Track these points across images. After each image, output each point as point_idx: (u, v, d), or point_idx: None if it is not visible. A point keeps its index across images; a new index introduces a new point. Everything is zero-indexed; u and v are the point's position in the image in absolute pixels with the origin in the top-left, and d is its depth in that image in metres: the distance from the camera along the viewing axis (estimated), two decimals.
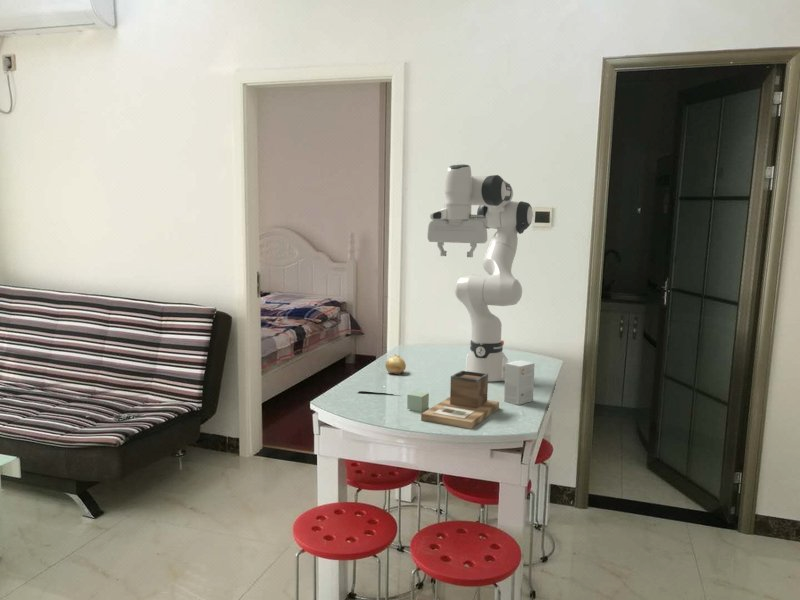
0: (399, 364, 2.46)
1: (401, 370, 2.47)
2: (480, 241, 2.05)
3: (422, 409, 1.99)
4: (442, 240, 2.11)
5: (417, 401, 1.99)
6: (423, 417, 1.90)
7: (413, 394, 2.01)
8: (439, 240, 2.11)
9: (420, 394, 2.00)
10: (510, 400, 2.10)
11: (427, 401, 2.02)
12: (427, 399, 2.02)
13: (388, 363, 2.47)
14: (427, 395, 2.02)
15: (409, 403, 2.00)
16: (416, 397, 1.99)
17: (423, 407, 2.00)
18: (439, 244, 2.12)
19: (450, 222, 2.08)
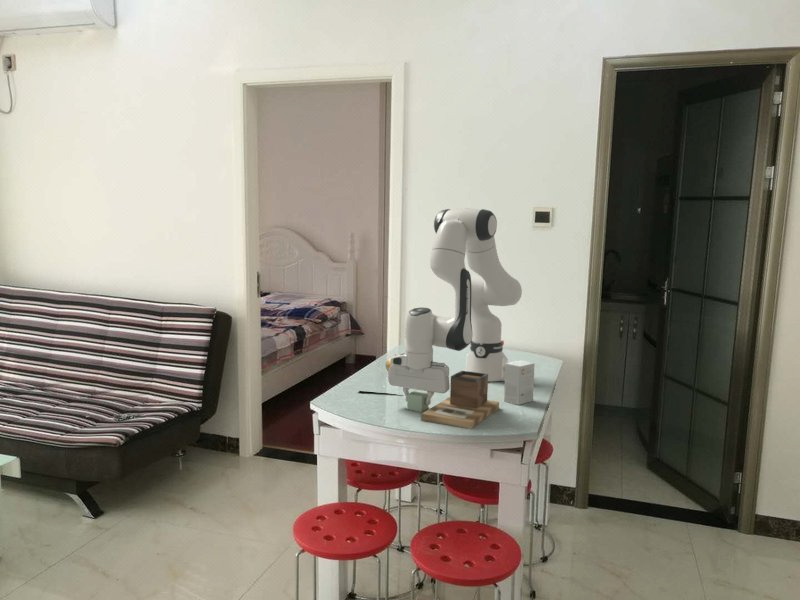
0: None
1: None
2: (441, 391, 1.95)
3: (422, 409, 1.99)
4: (403, 386, 2.02)
5: (417, 401, 1.99)
6: (423, 417, 1.90)
7: (413, 394, 2.00)
8: (400, 385, 2.02)
9: (420, 394, 2.00)
10: (510, 400, 2.10)
11: None
12: None
13: (388, 363, 2.47)
14: (427, 395, 2.02)
15: (409, 403, 2.00)
16: (416, 397, 1.99)
17: (423, 407, 2.00)
18: (404, 389, 2.02)
19: (411, 369, 1.98)
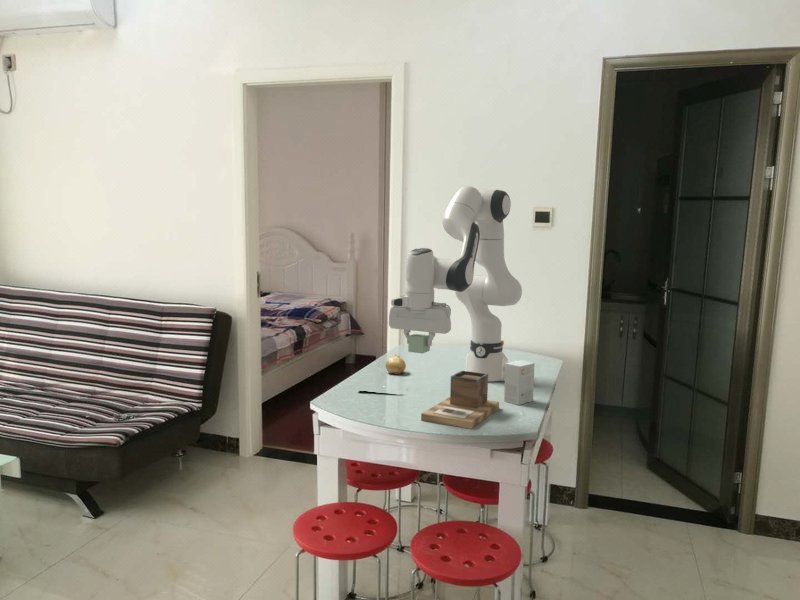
0: (399, 364, 2.46)
1: (401, 370, 2.47)
2: (443, 331, 1.93)
3: (423, 350, 1.97)
4: (404, 328, 1.99)
5: (418, 342, 1.97)
6: (423, 417, 1.90)
7: (414, 335, 1.98)
8: (401, 327, 2.00)
9: (421, 336, 1.98)
10: (510, 400, 2.10)
11: None
12: None
13: (388, 363, 2.47)
14: (428, 337, 1.99)
15: (410, 345, 1.98)
16: (417, 338, 1.97)
17: (424, 349, 1.97)
18: (405, 332, 2.00)
19: (412, 310, 1.96)
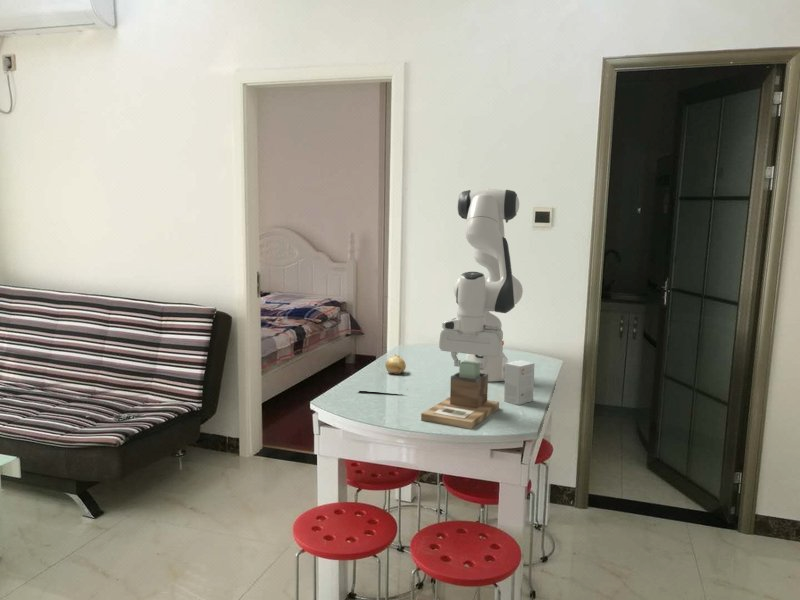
0: (399, 364, 2.46)
1: (401, 370, 2.47)
2: (495, 355, 1.95)
3: (474, 378, 1.98)
4: (455, 350, 2.01)
5: (469, 369, 1.98)
6: (423, 417, 1.90)
7: (465, 363, 2.00)
8: (451, 350, 2.01)
9: (472, 363, 2.00)
10: (510, 400, 2.10)
11: (479, 370, 2.01)
12: (479, 368, 2.01)
13: (388, 363, 2.47)
14: (479, 364, 2.01)
15: (461, 372, 2.00)
16: (469, 365, 1.98)
17: (475, 376, 1.99)
18: (453, 354, 2.02)
19: (463, 333, 1.98)
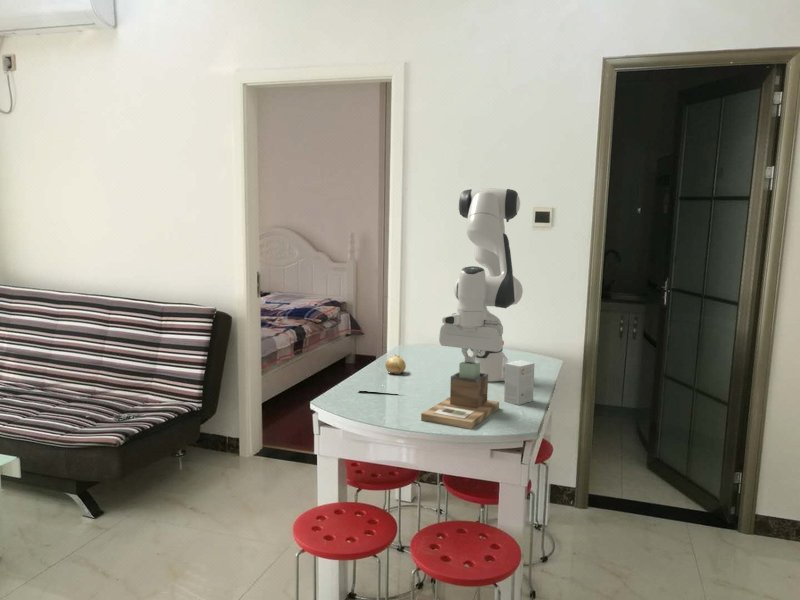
0: (399, 364, 2.46)
1: (401, 370, 2.47)
2: (495, 350, 1.94)
3: (474, 378, 1.98)
4: (455, 345, 2.00)
5: (469, 369, 1.98)
6: (423, 417, 1.90)
7: (465, 363, 2.00)
8: (452, 345, 2.01)
9: (472, 363, 2.00)
10: (510, 400, 2.10)
11: (479, 370, 2.01)
12: (479, 368, 2.01)
13: (388, 363, 2.47)
14: (479, 364, 2.01)
15: (461, 372, 2.00)
16: (469, 365, 1.98)
17: (475, 376, 1.99)
18: (463, 350, 2.00)
19: (463, 328, 1.97)
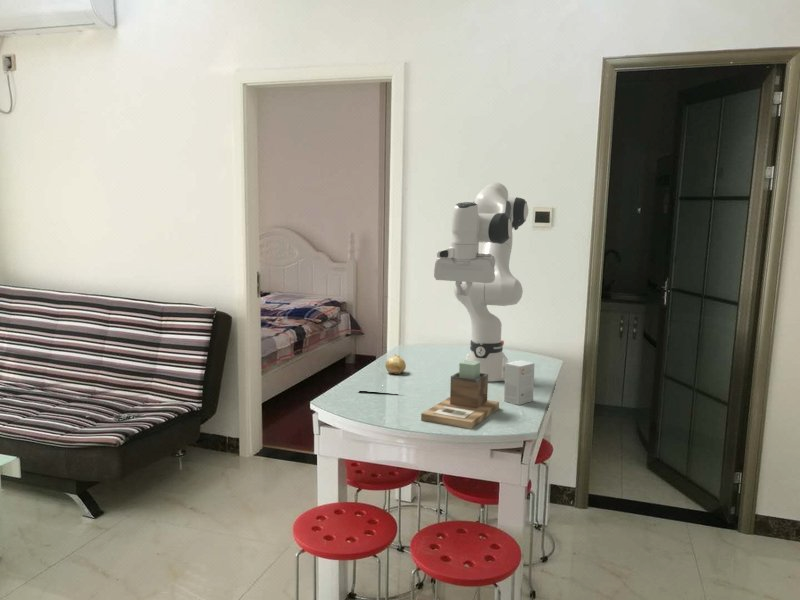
0: (399, 364, 2.46)
1: (401, 370, 2.47)
2: (488, 281, 2.02)
3: (474, 378, 1.98)
4: (449, 279, 2.08)
5: (469, 369, 1.98)
6: (423, 417, 1.90)
7: (465, 363, 2.00)
8: (446, 278, 2.08)
9: (472, 363, 2.00)
10: (510, 400, 2.10)
11: (479, 370, 2.01)
12: (479, 368, 2.01)
13: (388, 363, 2.47)
14: (479, 364, 2.01)
15: (461, 372, 2.00)
16: (469, 365, 1.98)
17: (475, 376, 1.99)
18: (457, 283, 2.07)
19: (457, 261, 2.05)
